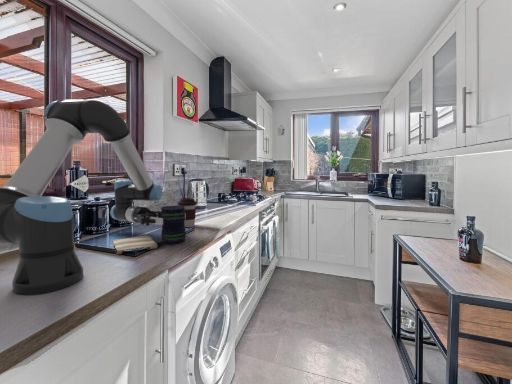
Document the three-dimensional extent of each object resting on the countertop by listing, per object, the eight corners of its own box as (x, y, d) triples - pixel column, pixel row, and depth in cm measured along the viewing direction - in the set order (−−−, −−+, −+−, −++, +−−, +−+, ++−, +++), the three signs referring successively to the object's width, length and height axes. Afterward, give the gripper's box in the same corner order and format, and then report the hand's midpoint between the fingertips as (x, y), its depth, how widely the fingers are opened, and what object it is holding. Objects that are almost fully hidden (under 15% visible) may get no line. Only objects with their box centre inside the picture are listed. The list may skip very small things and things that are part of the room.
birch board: (157, 247, 101) (157, 244, 101) (117, 254, 93) (117, 250, 93) (148, 238, 114) (148, 235, 114) (112, 243, 106) (112, 240, 106)
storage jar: (178, 246, 104) (177, 209, 103) (156, 244, 106) (155, 208, 104) (189, 239, 114) (189, 206, 112) (169, 238, 116) (168, 205, 114)
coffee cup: (174, 227, 135) (173, 199, 134) (184, 223, 145) (184, 197, 143) (190, 229, 133) (190, 200, 131) (200, 225, 142) (200, 198, 141)
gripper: (159, 218, 130) (193, 222, 121) (114, 228, 107) (151, 234, 98) (159, 203, 129) (193, 206, 120) (113, 210, 107) (150, 214, 98)
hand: (174, 218), depth 109 cm, fingers open, 13 cm apart
